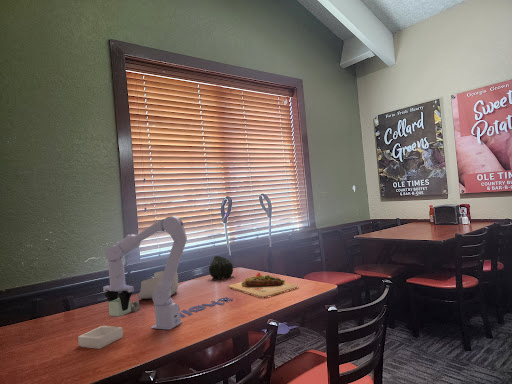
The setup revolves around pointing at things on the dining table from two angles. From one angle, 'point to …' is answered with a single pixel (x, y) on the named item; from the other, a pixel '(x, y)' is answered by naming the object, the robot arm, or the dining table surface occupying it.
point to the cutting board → (263, 285)
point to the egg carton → (134, 306)
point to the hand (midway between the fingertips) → (119, 309)
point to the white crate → (100, 337)
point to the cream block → (155, 285)
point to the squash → (220, 268)
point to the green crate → (117, 308)
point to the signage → (203, 307)
